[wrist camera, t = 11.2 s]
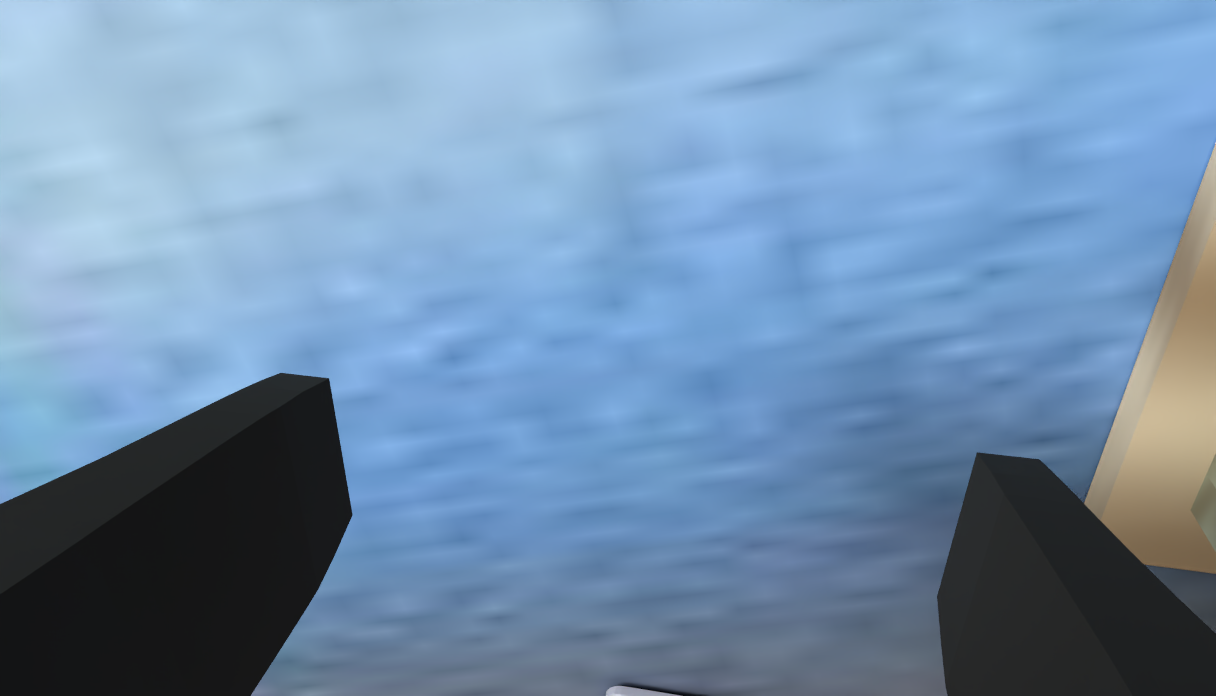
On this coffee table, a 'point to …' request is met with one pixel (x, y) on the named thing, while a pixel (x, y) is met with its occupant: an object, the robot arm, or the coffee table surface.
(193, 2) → the coffee table surface
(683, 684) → the coffee table surface
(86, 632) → the robot arm
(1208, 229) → the socket stand
